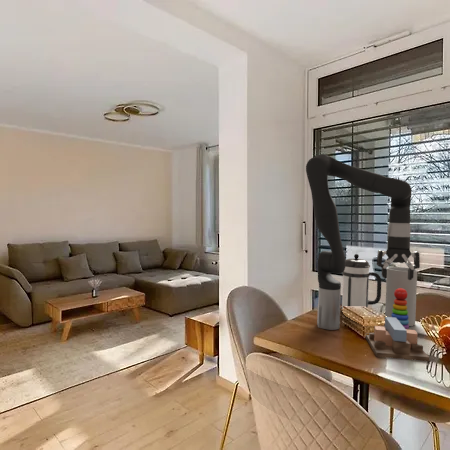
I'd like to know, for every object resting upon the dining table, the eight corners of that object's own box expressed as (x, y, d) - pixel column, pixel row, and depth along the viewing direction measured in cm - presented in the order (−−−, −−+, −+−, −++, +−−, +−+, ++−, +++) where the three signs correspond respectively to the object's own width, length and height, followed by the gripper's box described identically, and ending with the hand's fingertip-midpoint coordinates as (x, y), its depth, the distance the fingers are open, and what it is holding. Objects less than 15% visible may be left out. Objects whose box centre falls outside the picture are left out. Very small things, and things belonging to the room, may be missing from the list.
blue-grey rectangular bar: (384, 326, 141) (385, 316, 141) (395, 327, 140) (396, 317, 140) (393, 340, 126) (394, 329, 126) (406, 341, 125) (406, 330, 125)
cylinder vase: (396, 327, 157) (398, 271, 156) (379, 319, 169) (381, 267, 168) (421, 326, 160) (423, 271, 159) (402, 318, 172) (404, 266, 171)
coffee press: (362, 320, 167) (364, 256, 166) (332, 312, 179) (334, 253, 178) (380, 314, 178) (383, 254, 177) (351, 307, 190) (353, 251, 189)
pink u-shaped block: (414, 344, 133) (415, 330, 133) (417, 349, 129) (417, 334, 129) (374, 339, 137) (374, 325, 137) (375, 344, 133) (375, 329, 133)
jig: (376, 356, 125) (377, 341, 125) (365, 337, 145) (365, 324, 144) (429, 361, 122) (430, 346, 122) (410, 340, 141) (411, 327, 141)
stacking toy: (413, 335, 148) (415, 290, 147) (393, 335, 148) (395, 290, 147) (404, 329, 155) (405, 286, 155) (385, 328, 156) (387, 286, 155)
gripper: (380, 235, 129) (379, 279, 130) (423, 236, 127) (421, 282, 127) (376, 234, 137) (374, 276, 137) (416, 235, 134) (414, 278, 135)
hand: (397, 278), depth 132 cm, fingers open, 8 cm apart
